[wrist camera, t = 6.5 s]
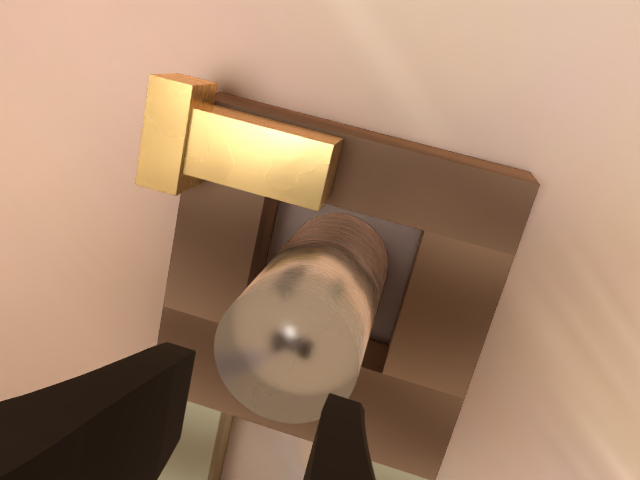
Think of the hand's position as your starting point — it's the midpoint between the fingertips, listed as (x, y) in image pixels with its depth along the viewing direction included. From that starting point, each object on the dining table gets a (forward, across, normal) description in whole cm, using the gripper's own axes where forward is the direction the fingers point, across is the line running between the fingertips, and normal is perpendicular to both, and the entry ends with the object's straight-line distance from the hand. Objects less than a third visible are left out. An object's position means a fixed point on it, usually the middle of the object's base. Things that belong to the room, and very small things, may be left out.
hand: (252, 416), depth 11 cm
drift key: (+7, +3, -3) cm, 9 cm away
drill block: (+9, 0, +4) cm, 10 cm away
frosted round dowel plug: (+9, 0, 0) cm, 9 cm away
